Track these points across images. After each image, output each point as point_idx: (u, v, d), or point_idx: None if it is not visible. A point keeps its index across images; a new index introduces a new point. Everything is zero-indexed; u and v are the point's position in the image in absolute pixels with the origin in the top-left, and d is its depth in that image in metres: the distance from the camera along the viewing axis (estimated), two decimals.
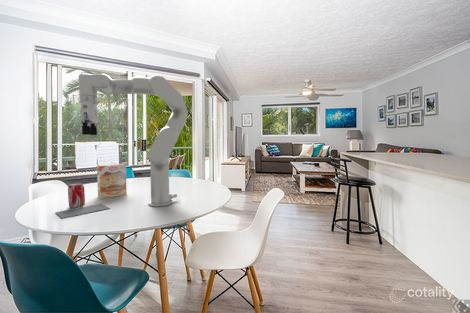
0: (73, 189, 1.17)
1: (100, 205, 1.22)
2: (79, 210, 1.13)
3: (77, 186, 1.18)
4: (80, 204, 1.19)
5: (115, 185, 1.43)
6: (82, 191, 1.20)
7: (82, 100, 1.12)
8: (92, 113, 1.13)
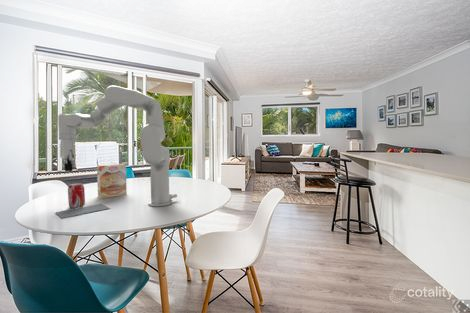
0: (73, 189, 1.17)
1: (100, 205, 1.22)
2: (79, 210, 1.13)
3: (77, 186, 1.18)
4: (80, 204, 1.19)
5: (115, 185, 1.43)
6: (82, 191, 1.20)
7: None
8: (60, 149, 1.26)
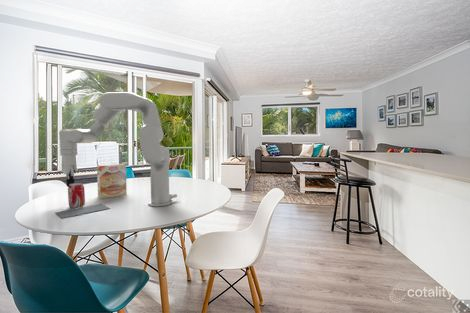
0: (73, 189, 1.17)
1: (100, 205, 1.22)
2: (79, 210, 1.13)
3: (77, 186, 1.18)
4: (80, 204, 1.19)
5: (115, 185, 1.43)
6: (82, 191, 1.20)
7: None
8: None
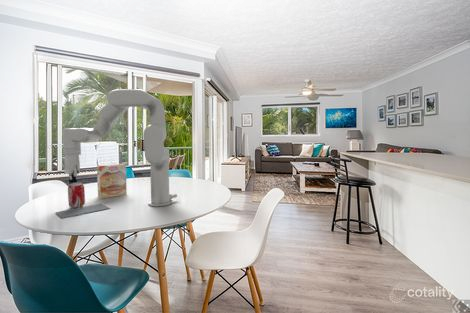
0: (73, 189, 1.16)
1: (100, 205, 1.22)
2: (79, 210, 1.13)
3: (77, 186, 1.17)
4: (80, 204, 1.19)
5: (115, 185, 1.43)
6: (82, 191, 1.19)
7: None
8: None
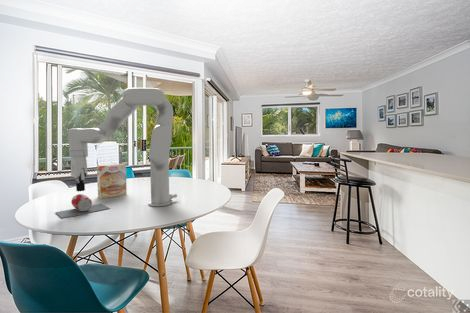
0: None
1: (100, 205, 1.22)
2: None
3: (84, 210, 1.11)
4: None
5: (115, 185, 1.43)
6: None
7: None
8: (71, 167, 1.15)
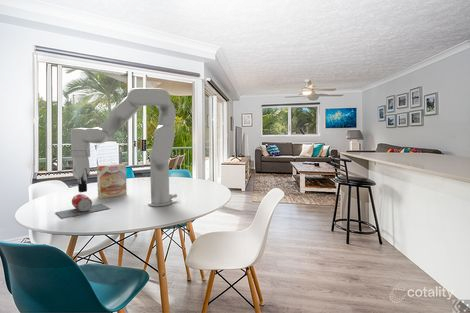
0: None
1: (100, 205, 1.22)
2: None
3: (84, 210, 1.11)
4: None
5: (115, 185, 1.43)
6: None
7: None
8: (73, 168, 1.12)
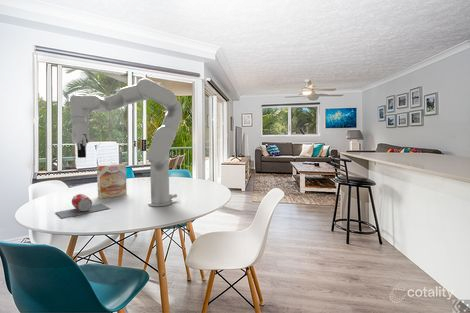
0: None
1: (100, 205, 1.22)
2: None
3: (84, 210, 1.11)
4: None
5: (115, 185, 1.43)
6: None
7: None
8: (72, 134, 1.17)
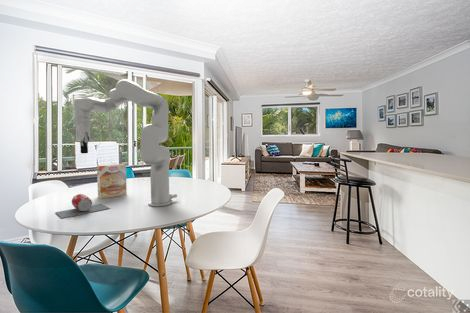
0: None
1: (100, 205, 1.22)
2: None
3: (84, 210, 1.11)
4: None
5: (115, 185, 1.43)
6: None
7: None
8: (76, 133, 1.33)
